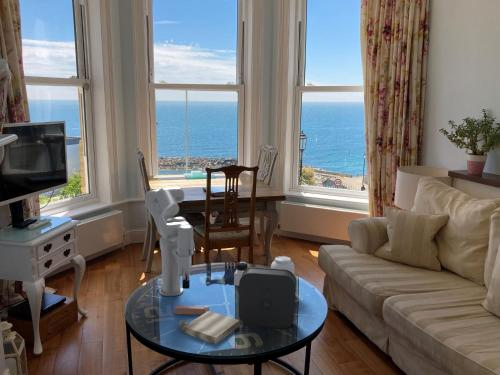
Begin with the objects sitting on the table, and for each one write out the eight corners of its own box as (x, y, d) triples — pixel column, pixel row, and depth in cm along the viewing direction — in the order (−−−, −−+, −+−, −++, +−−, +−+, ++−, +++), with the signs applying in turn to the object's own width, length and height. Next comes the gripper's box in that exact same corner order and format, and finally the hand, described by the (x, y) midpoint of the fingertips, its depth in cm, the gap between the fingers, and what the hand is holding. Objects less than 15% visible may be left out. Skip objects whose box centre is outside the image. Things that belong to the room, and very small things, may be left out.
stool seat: (177, 330, 191) (177, 323, 191) (202, 314, 207) (202, 307, 206) (215, 344, 181) (215, 336, 180) (239, 326, 196) (239, 319, 196)
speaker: (294, 321, 202) (296, 270, 197) (293, 331, 193) (295, 277, 189) (240, 317, 205) (241, 266, 201) (237, 326, 197) (238, 273, 192)
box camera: (246, 286, 240) (247, 266, 238) (233, 285, 242) (234, 264, 239) (249, 281, 247) (249, 261, 245) (236, 280, 248) (237, 260, 246)
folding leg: (209, 312, 208) (209, 305, 208) (209, 315, 206) (209, 308, 205) (175, 311, 209) (175, 304, 208) (174, 314, 206) (174, 307, 205)
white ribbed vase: (298, 294, 232) (299, 258, 229) (283, 301, 223) (285, 264, 219) (279, 287, 240) (280, 252, 237) (265, 294, 231) (266, 258, 228)
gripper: (180, 246, 216) (180, 282, 219) (174, 255, 201) (175, 293, 204) (195, 246, 216) (195, 282, 218) (191, 256, 201) (191, 294, 204)
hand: (186, 287), depth 211 cm, fingers closed
